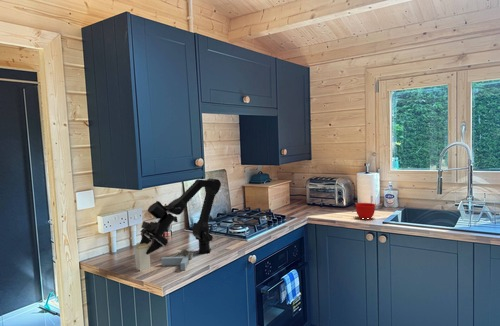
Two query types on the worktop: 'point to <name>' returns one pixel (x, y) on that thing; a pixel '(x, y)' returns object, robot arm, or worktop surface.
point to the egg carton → (184, 254)
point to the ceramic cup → (365, 210)
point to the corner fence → (175, 261)
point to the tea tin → (142, 256)
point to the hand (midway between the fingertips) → (142, 251)
